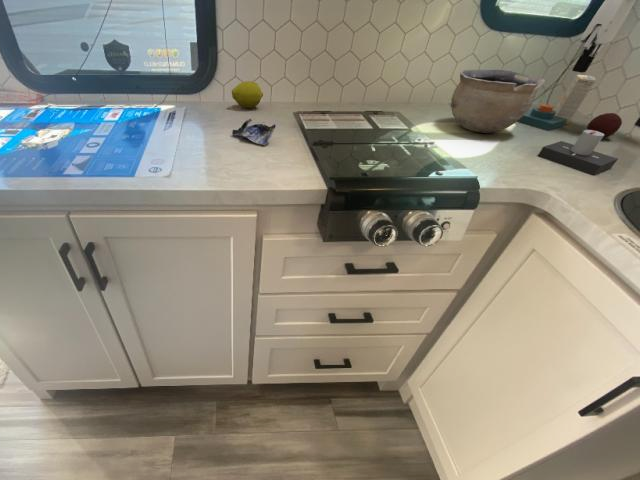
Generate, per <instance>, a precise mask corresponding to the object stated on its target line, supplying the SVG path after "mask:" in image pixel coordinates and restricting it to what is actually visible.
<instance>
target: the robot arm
mask: <svg viewBox="0 0 640 480" xmlns="http://www.w3.org/2000/svg"><path fill="white" fill-rule="evenodd" d="M636 1H637V0H604V1H603V2H602V4H601V5H600V7H599V8H598V10H597V11H596V13H595V14H594V16H593V17H592V19H591V21H590V22H589V23H588V25H587V27H586V28H585V30H584V31H583V34H582V35H581V36H580V38H579V42H580V43H583V46H582V51H581V52H580V53H581V54H580V56H579V57H578V58H577V61H576V62H575V64H574V66H573V68H572V69H571V70H572V72H574V73H575V72H576V73H580V74H581V73H586V72H587V71H588V69H589V68H590V66H591V64H592V63H593V61H594V59H595V58H596V57H597V55H598V54H599V52H600V51H601V49H602V48H604V46H605V45H606V44H608V43H611V42H612V40H613V39H614V38H615V37H616V35H617V34H618V33H619V31H620V29H621V27H622V26H623V24H624V22H625V21H626V19H627V17H628V15H629V14H630V12H631V10H632V9H633V6H634V4H635V2H636Z"/></svg>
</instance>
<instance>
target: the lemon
mask: <svg viewBox="0 0 640 480" xmlns="http://www.w3.org/2000/svg"><path fill="white" fill-rule="evenodd" d="M231 96H232V97H231V98H232V99H233V100H234V101H235V102H236V104H237V105H239V106H240V107H242V108H245V109H253V108H255V107H257V106H258V105H259V104H260V103H261V100H262V98H263V97H264V93H263V92H262V90H261V87H260V85H259V84H258V83H257V82H254V81H250V80H246V81H243V82H240V83H238V84H237V85H236V86H235V87H233V88H232V89H231Z"/></svg>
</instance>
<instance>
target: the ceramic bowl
mask: <svg viewBox="0 0 640 480" xmlns="http://www.w3.org/2000/svg"><path fill="white" fill-rule="evenodd" d="M545 83H546V80H545V79H544V78H543V77H536V76H532V75H529V74H526V73H522V72H521V73H519V72H517V71H512V70H505V69H465V70H462V71H461V72H460V73H459V82H458V83H457V85H456V87H455V89H454V91H453V93H452V95H451V100H450V108H451V113H452V116H453V118H454V120H455V121H456V123H457V125H459V126H460V127H462V128H463V129H466V130H468V131H471V132H476V133H482V134H494V133H495V134H496V133H499V132H501V131H504V130H505V129H508V128H509V127H511V126H512V125H514V124H515V123H516V122H518V120H519V119H520V118H521V117H522V116H523V115H524V114H525V113H526V112H527V111H528V110H531V108H532V105H533V103H534V100H535V98H536V95H537V92H538V91H539V90H540V88H542V87H543V85H544V84H545Z"/></svg>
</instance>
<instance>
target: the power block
mask: <svg viewBox="0 0 640 480" xmlns="http://www.w3.org/2000/svg"><path fill="white" fill-rule="evenodd" d="M539 108H540V106H539V107H537V106H536V107H533V108H532V109H531V108H530V109H529V110H528V111H527V112H526V113H525V114H524V115H523V116H522V117H521V118H520V119H519V120H518V121H517V122H518V123H521V124H525V125H528V126H530V127H531V126H532V127H535V128H538V129H541V130H545V131H552V130H555V129H559V128H562V127H564V126H565V125H566V124H565V123H566V121H567V120H568V119H564V118H561V117H557V116H555V114H556V111H555V110H554V109H552V111H551V112H543V111H539V110H538V109H539Z"/></svg>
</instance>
